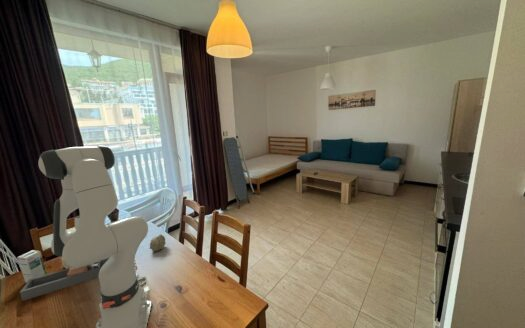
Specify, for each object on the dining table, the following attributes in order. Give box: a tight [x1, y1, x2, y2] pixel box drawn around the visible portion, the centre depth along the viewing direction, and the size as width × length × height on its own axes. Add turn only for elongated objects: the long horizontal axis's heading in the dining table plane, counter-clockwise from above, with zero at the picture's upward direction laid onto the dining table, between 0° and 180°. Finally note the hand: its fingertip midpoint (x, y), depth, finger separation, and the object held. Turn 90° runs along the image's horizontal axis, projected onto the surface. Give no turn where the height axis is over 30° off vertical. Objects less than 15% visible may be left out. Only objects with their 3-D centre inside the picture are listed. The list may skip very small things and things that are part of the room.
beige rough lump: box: [149, 234, 167, 252], centre depth 124 cm, size 9×8×10 cm
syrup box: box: [17, 249, 48, 284], centre depth 102 cm, size 6×6×14 cm
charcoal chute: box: [19, 257, 110, 302], centre depth 102 cm, size 9×32×4 cm, turn 120°
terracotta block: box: [67, 266, 88, 277], centre depth 102 cm, size 6×6×4 cm
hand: (96, 267), depth 106 cm, fingers closed
